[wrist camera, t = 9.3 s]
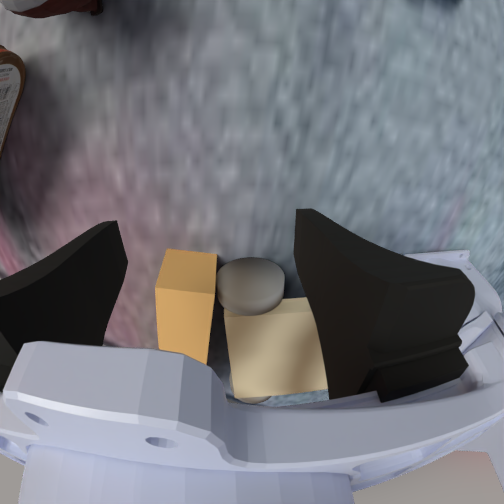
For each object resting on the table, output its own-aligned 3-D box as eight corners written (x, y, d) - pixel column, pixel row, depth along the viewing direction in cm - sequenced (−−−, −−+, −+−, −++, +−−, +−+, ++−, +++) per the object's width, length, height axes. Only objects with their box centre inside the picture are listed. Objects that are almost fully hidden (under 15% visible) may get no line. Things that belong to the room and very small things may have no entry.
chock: (217, 252, 23) (215, 294, 19) (203, 367, 32) (202, 404, 28) (167, 246, 23) (155, 287, 18) (169, 363, 31) (164, 400, 27)
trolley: (389, 249, 24) (415, 284, 20) (355, 354, 32) (367, 387, 28) (216, 259, 23) (214, 302, 19) (230, 367, 31) (231, 404, 27)
